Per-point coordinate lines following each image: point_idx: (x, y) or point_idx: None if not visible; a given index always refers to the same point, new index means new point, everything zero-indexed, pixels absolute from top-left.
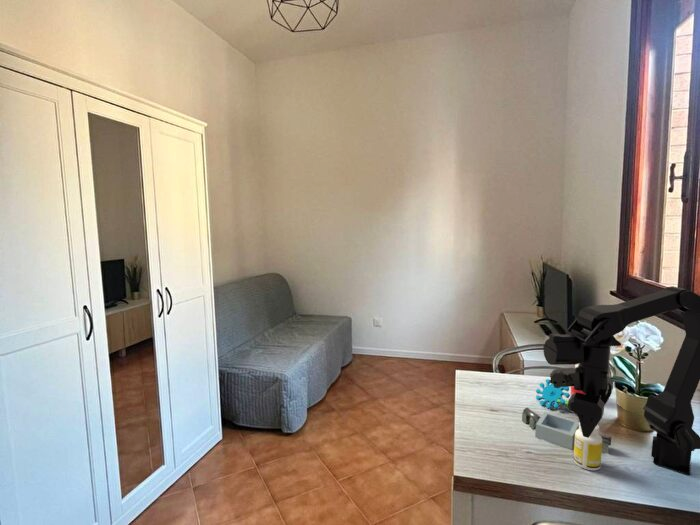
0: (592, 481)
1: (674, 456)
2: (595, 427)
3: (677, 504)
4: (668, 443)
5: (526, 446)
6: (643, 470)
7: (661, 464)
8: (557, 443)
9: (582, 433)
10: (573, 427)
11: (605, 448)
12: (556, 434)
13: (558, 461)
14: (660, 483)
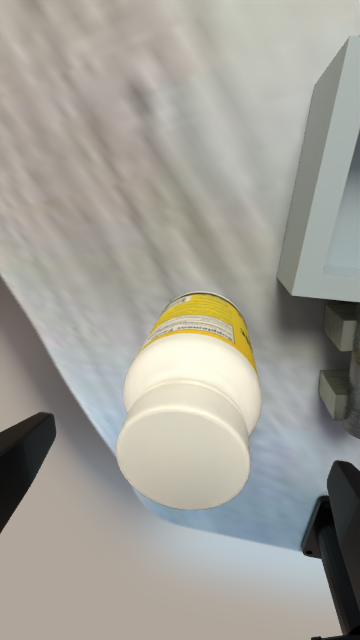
0: (110, 348)
1: (328, 575)
2: (159, 492)
3: None
4: (352, 618)
5: (185, 69)
6: (265, 466)
7: (316, 513)
8: (290, 214)
9: (21, 421)
10: None
11: (325, 396)
12: (305, 205)
13: (152, 239)
14: None
